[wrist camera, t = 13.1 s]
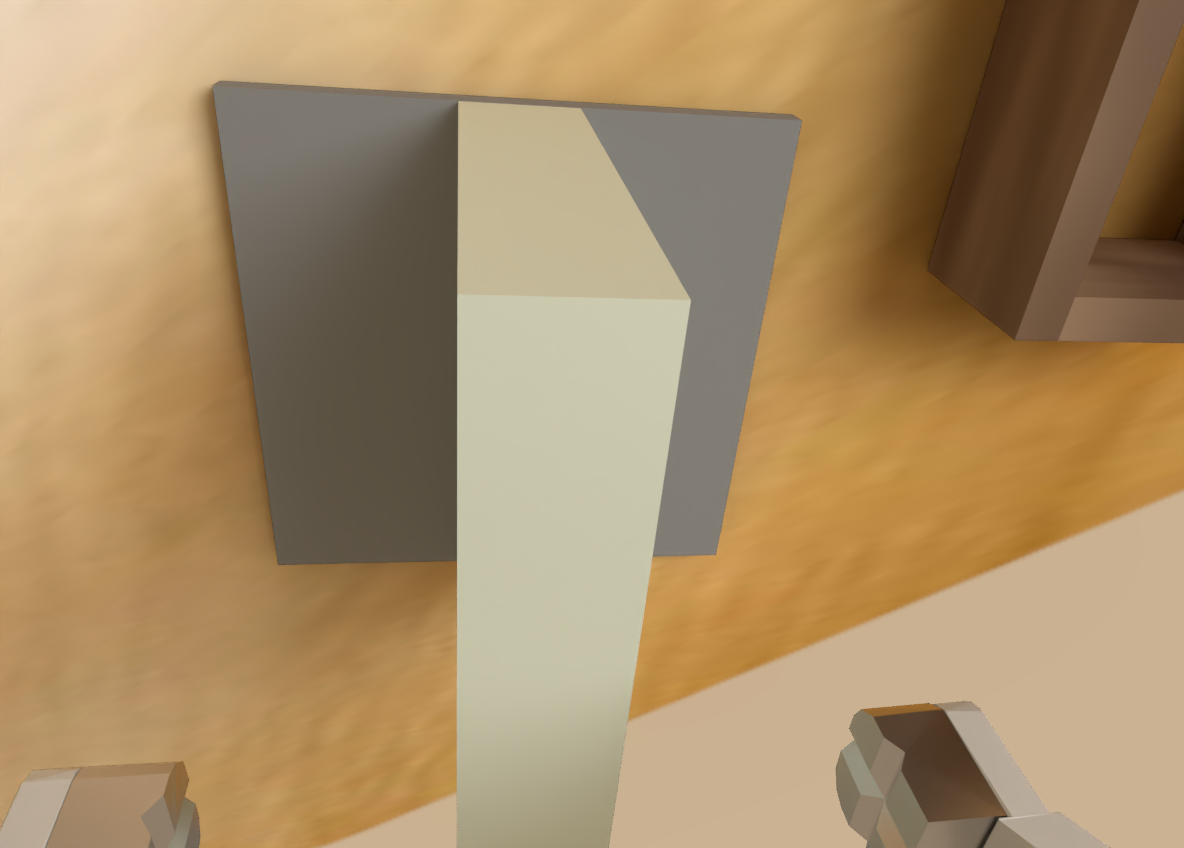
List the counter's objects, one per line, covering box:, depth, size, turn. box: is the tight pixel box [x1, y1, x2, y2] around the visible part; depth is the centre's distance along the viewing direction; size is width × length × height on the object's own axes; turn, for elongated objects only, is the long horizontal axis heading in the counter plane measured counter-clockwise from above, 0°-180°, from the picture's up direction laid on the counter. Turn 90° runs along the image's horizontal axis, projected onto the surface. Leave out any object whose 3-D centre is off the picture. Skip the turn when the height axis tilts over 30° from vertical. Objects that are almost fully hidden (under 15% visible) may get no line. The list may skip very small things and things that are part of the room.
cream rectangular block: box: [457, 101, 691, 848], centre depth 16 cm, size 2×12×10 cm, turn 175°
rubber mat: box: [212, 81, 802, 565], centre depth 21 cm, size 12×12×1 cm
